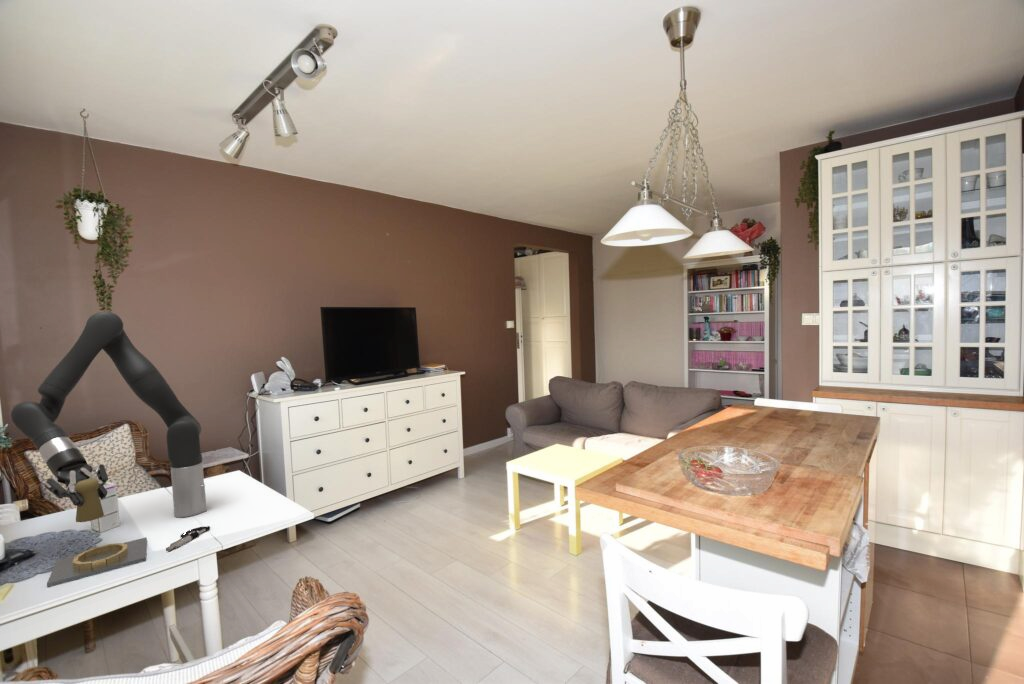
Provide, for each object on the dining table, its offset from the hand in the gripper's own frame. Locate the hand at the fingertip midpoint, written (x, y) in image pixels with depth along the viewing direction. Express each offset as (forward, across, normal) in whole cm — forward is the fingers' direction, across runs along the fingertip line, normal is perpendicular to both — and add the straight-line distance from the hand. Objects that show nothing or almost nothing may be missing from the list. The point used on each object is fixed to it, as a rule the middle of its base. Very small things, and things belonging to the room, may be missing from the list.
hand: (93, 500), depth 135 cm
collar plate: (+14, -1, +10) cm, 17 cm away
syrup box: (-3, +14, +27) cm, 31 cm away
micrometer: (+22, +15, +3) cm, 27 cm away
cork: (+2, 0, +5) cm, 6 cm away
